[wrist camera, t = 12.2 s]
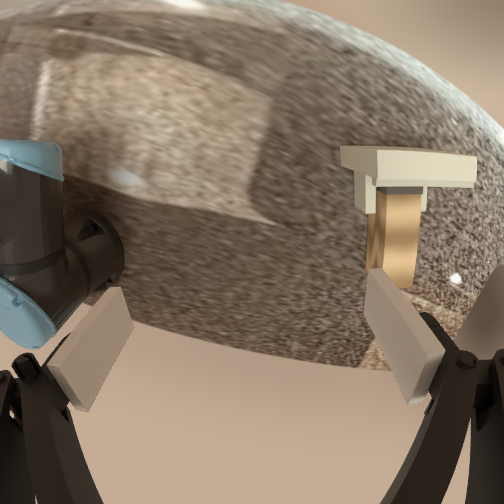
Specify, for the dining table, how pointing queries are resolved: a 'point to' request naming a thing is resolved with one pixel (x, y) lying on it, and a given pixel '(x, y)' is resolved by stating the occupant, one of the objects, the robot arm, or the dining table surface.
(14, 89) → the dining table surface
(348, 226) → the dining table surface
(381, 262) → the tan and grey block
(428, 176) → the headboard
